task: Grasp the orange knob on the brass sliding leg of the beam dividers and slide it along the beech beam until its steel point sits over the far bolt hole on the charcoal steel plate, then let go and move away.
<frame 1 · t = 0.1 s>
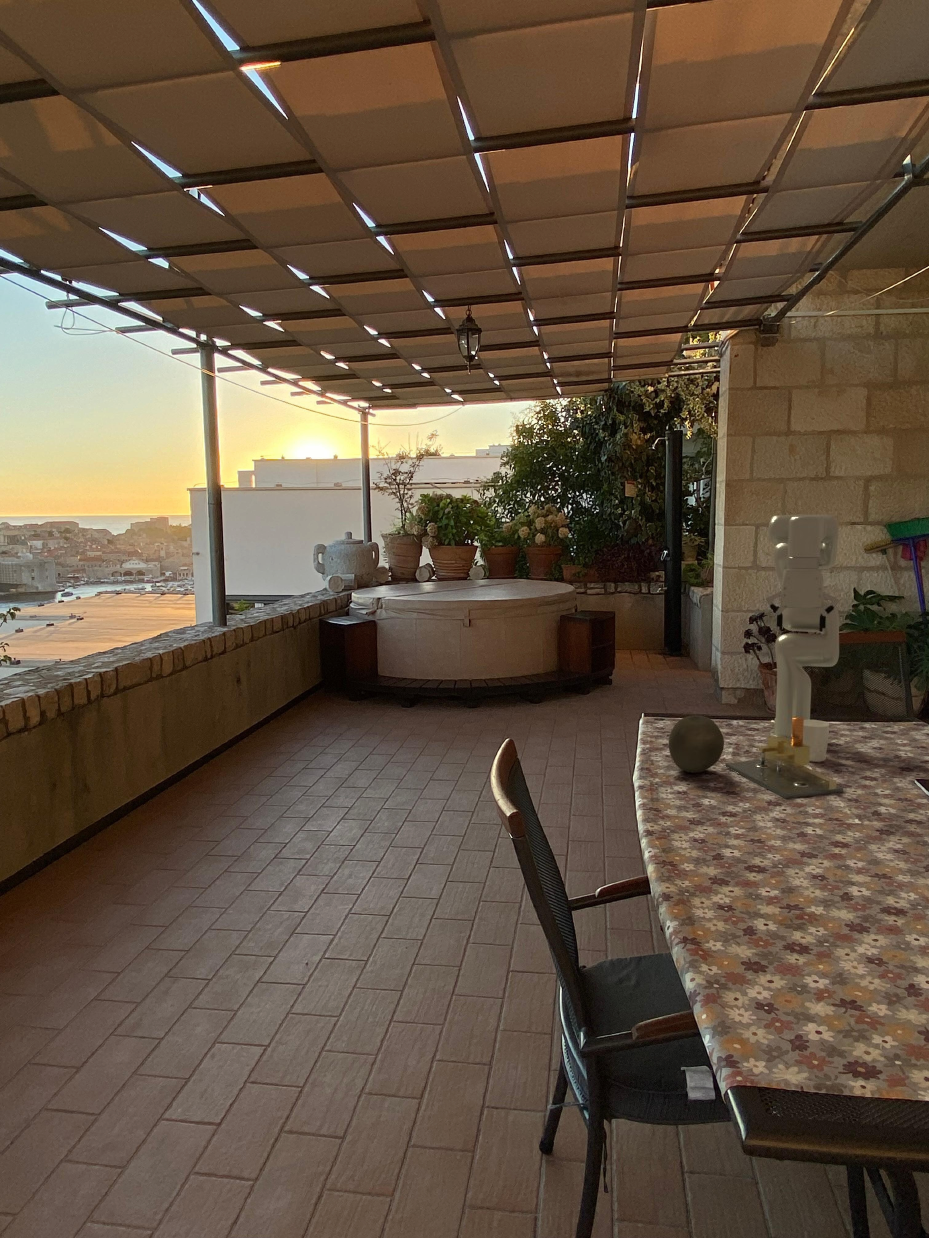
hand: (800, 630, 215), 37 cm above the table, tool pointing down, fingers open, 9 cm apart
dimpled olive sphere: (695, 773, 219), on the table
white cup: (812, 759, 230), on the table
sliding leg: (790, 744, 213), point 8 cm above the table, slide at 7.0 cm
divider base: (781, 778, 212), on the table
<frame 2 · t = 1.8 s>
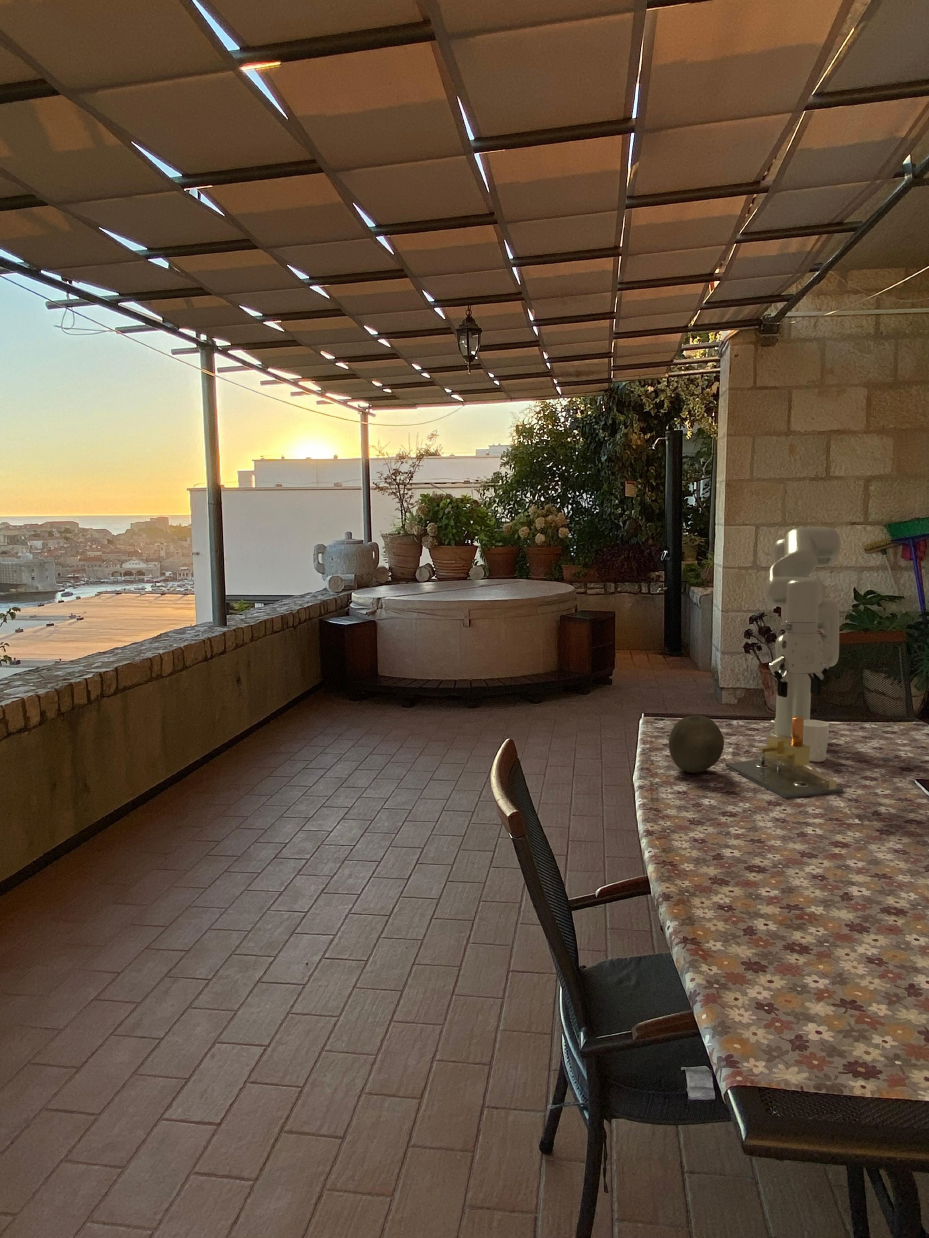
hand: (798, 695, 211), 21 cm above the table, tool pointing down, fingers open, 9 cm apart
nothing on the table moved.
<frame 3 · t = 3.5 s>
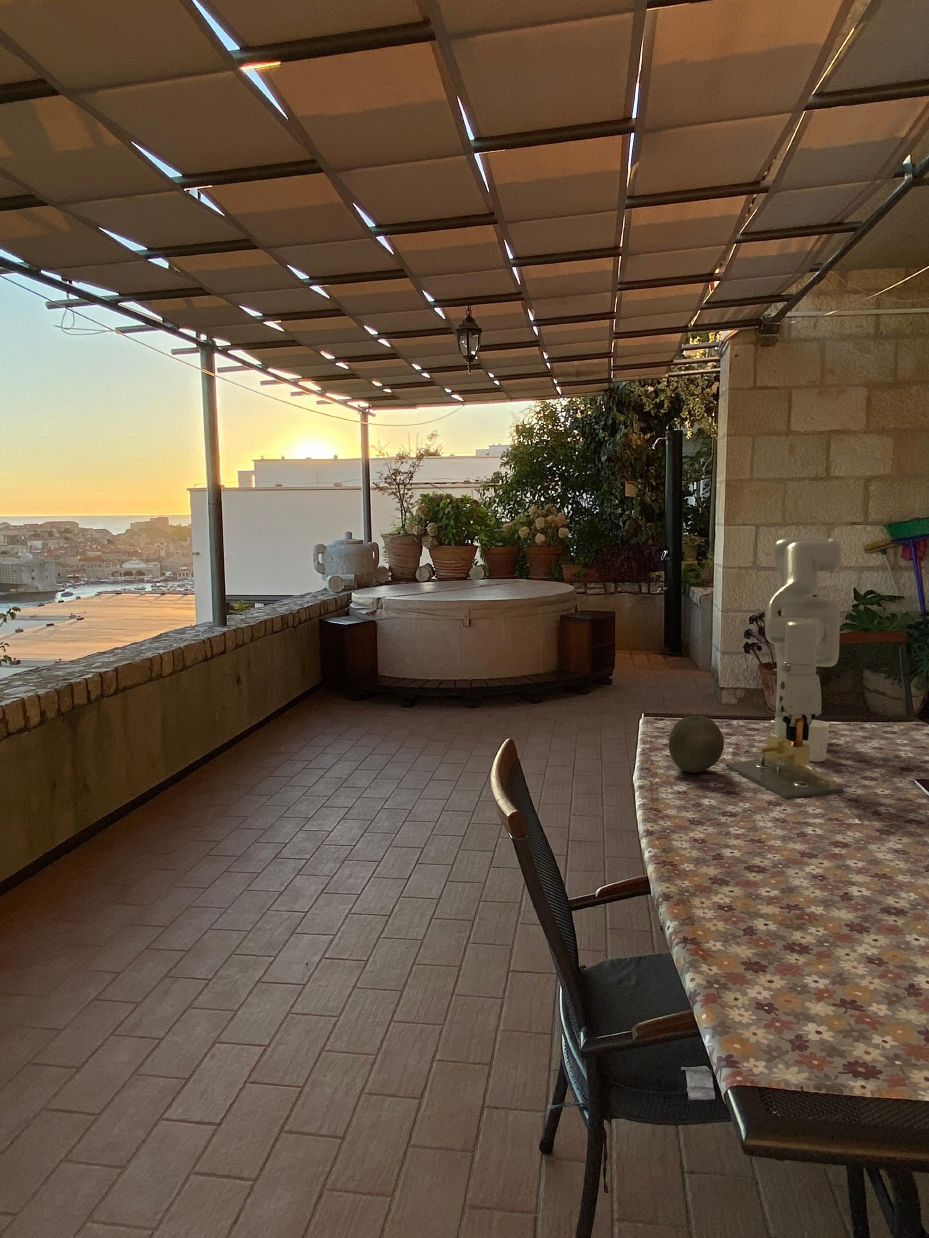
hand: (797, 739, 213), 10 cm above the table, tool pointing down, fingers closed on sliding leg, 2 cm apart
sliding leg: (790, 744, 213), point 8 cm above the table, slide at 7.0 cm, touching gripper
everything else where it was.
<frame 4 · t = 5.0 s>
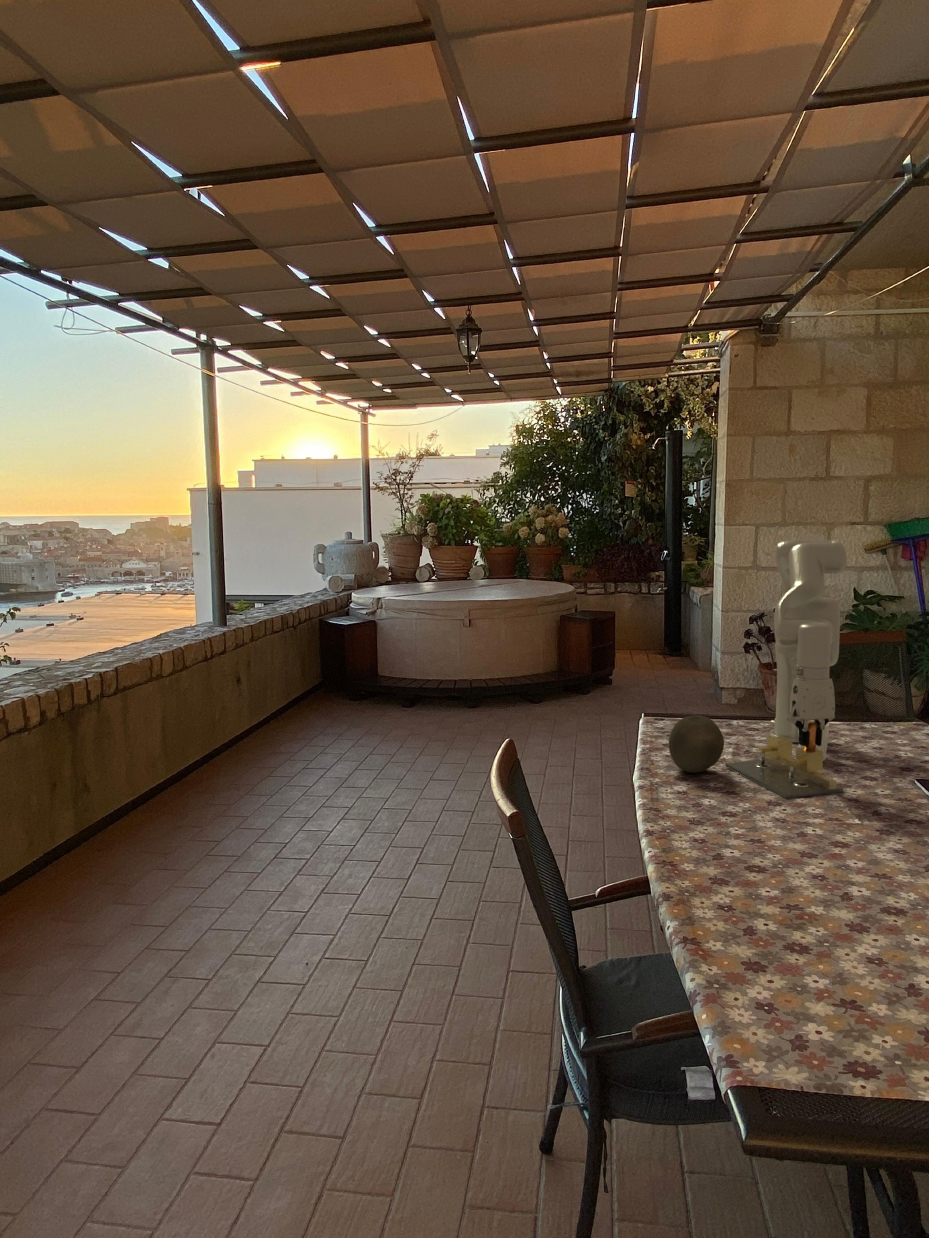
hand: (809, 744, 209), 10 cm above the table, tool pointing down, fingers closed on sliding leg, 2 cm apart
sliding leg: (803, 750, 208), point 8 cm above the table, slide at 12.1 cm, touching gripper
everything else where it was.
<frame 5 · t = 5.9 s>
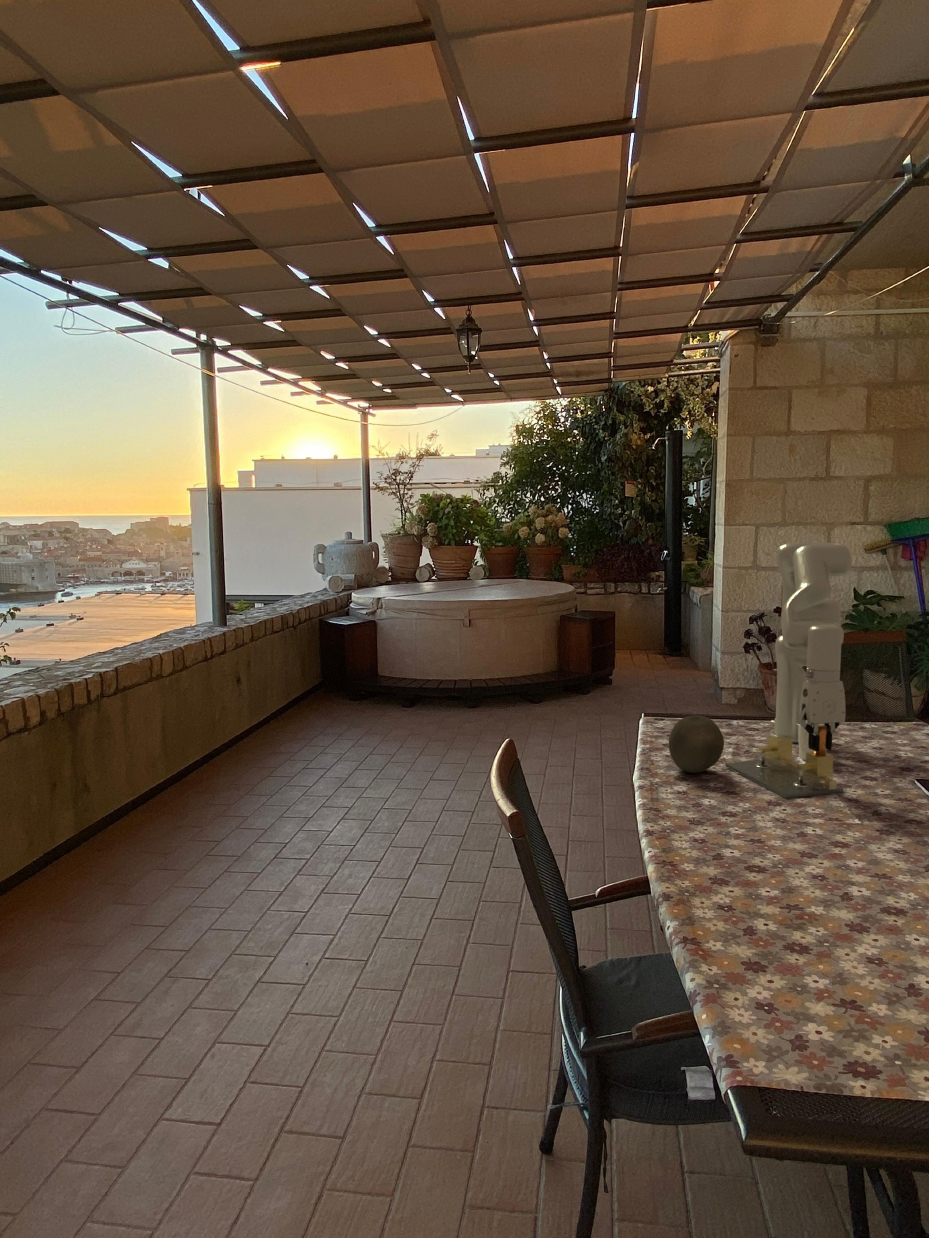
hand: (819, 748, 205), 10 cm above the table, tool pointing down, fingers closed on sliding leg, 2 cm apart
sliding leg: (813, 754, 205), point 8 cm above the table, slide at 15.8 cm, touching gripper
everything else where it was.
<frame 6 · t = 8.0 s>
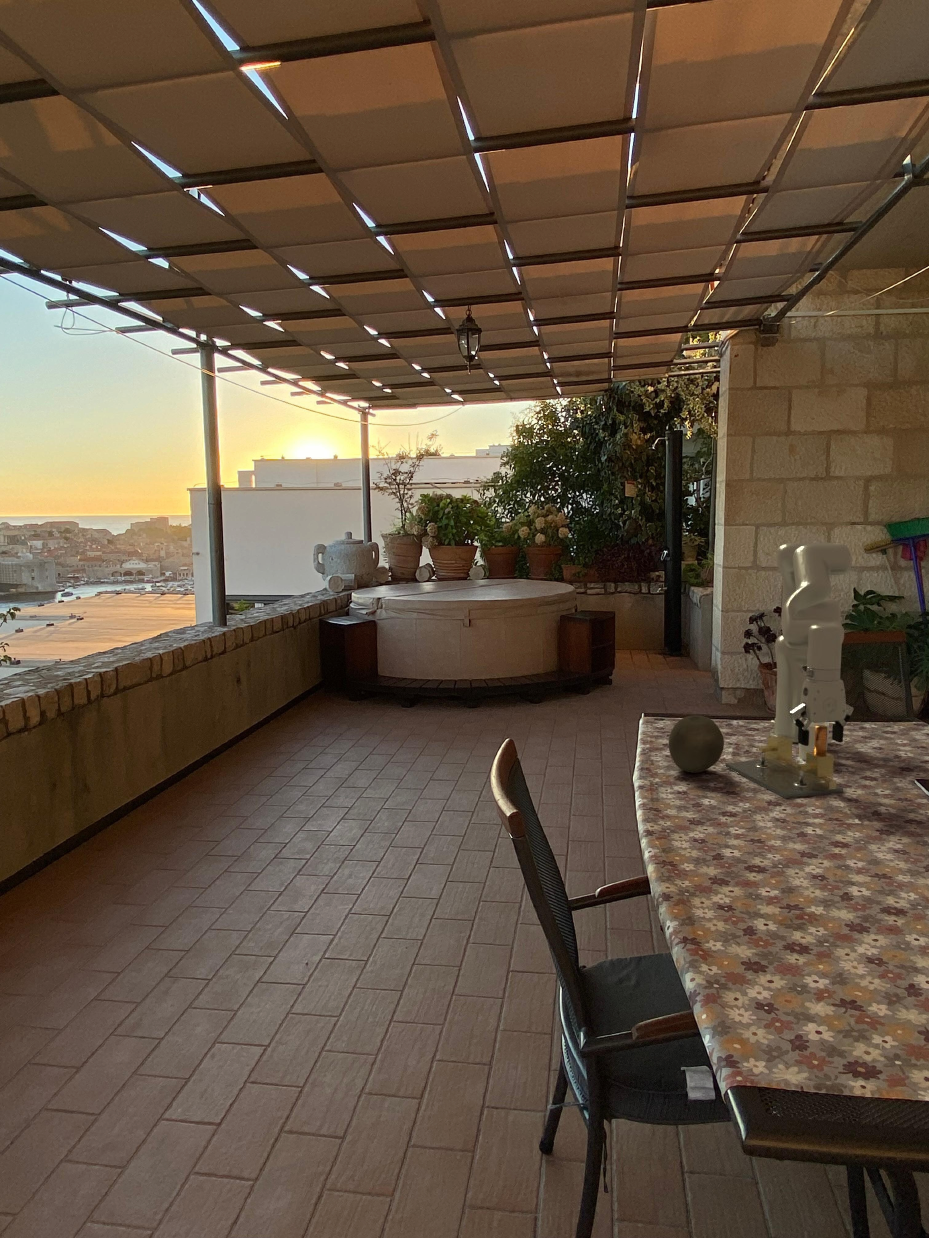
hand: (820, 742, 205), 11 cm above the table, tool pointing down, fingers open, 9 cm apart
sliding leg: (813, 754, 204), point 8 cm above the table, slide at 16.0 cm
everything else where it was.
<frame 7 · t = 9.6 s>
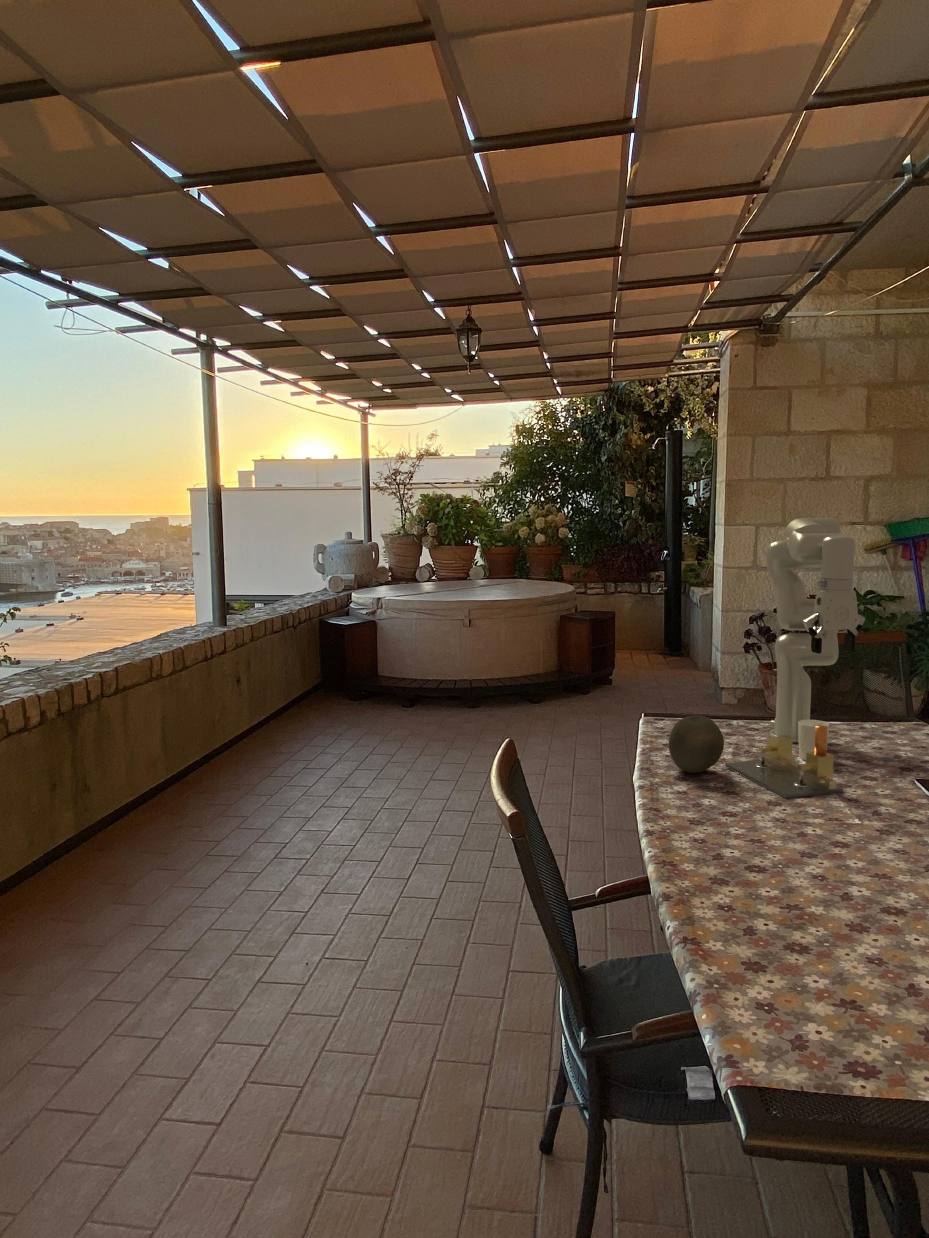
hand: (832, 651, 213), 32 cm above the table, tool pointing down, fingers open, 9 cm apart
nothing on the table moved.
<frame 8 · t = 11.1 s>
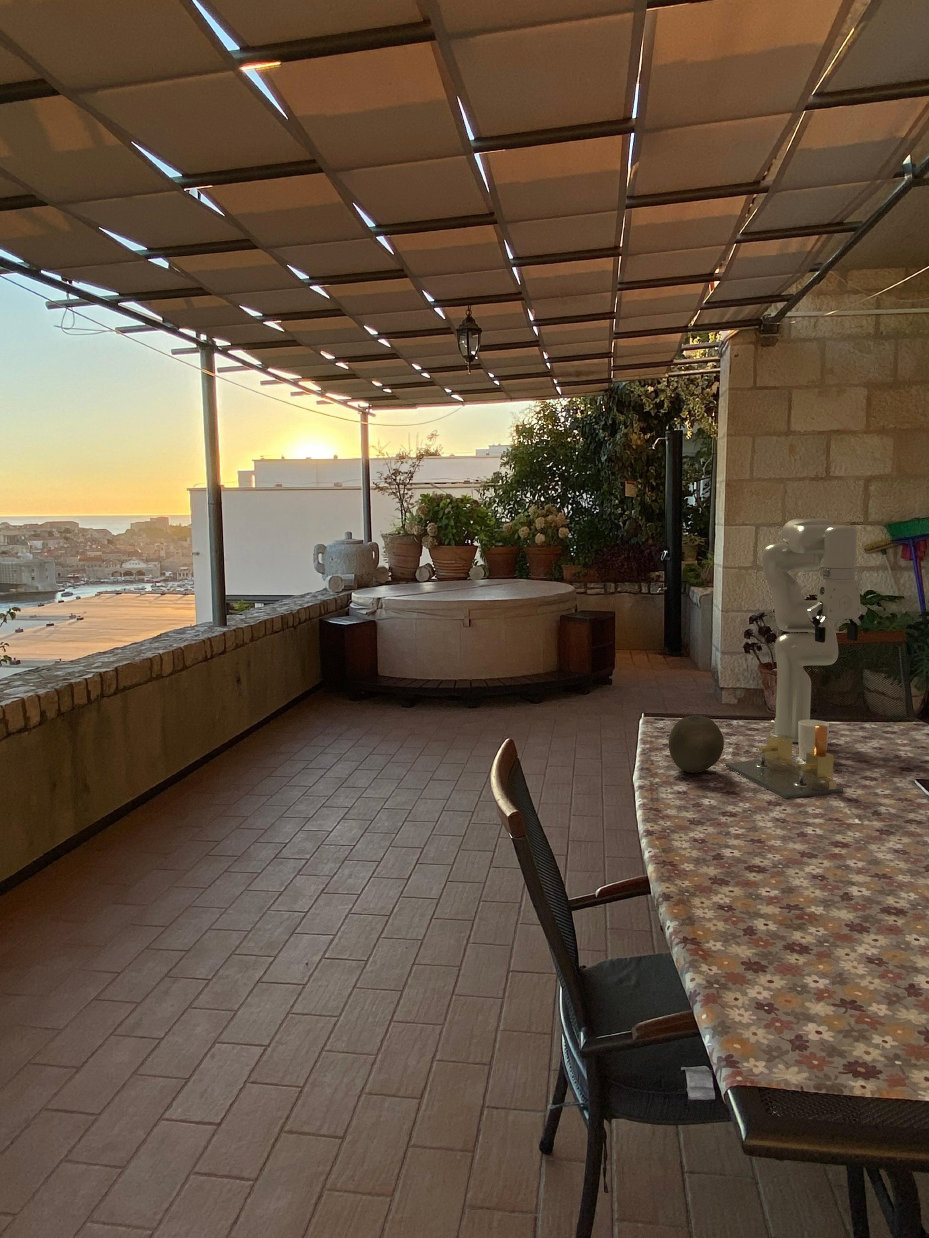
hand: (836, 640, 215), 34 cm above the table, tool pointing down, fingers open, 9 cm apart
nothing on the table moved.
at the end: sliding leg slide at 16.0 cm; the gripper is holding nothing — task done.
